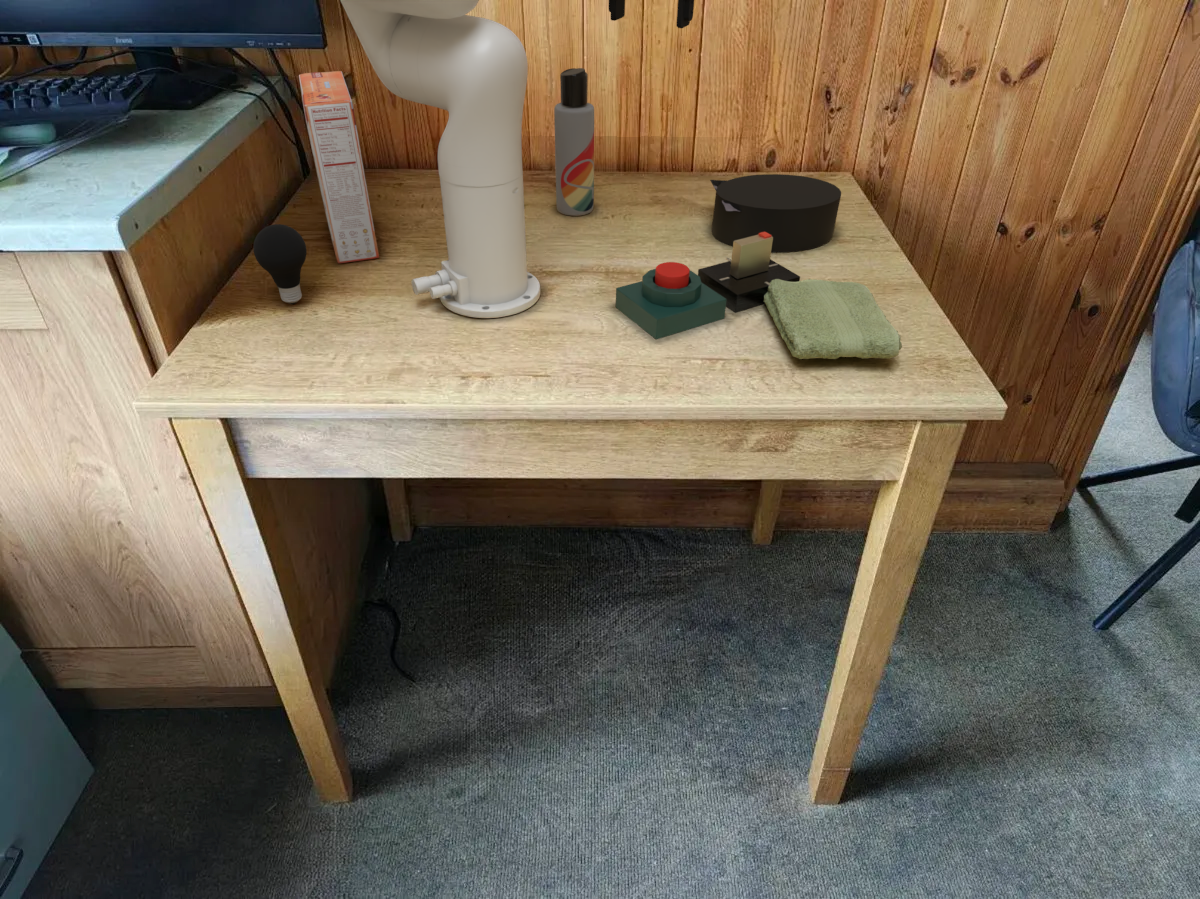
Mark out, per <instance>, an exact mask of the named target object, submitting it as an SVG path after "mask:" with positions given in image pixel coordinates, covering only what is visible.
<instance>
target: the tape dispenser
mask: <svg viewBox="0 0 1200 899" xmlns="http://www.w3.org/2000/svg"><path fill="white" fill-rule="evenodd" d="M709 181H710V183H711V184H712V186H713V188H714V190H715V197H714V205H713V214H712V222H711V231H710V232H711V235H712V237H713V238H714V239H715V240H716V241H718V242H720V243H722V244H724V245H726V246H728V247H732V248H733V242H734V241H735V240H739V239H743V238H747V237H751V236H755V235H758V234H759V233H761V232H767V233H768V234H770V235H772V237H773V242H772V249H771V253H793V252H802V251H808V250H812V249H817V248H819V247H822V246H824V245H826V244H828V243H829V242H831V241H832V239H833V237H834V232H835V228H836V227H835V226H836V221H837V216H838V213H839V209H840V208H839V207H840V202H841V197H842V191H841V189H840V188H839V187H838V186H837V185H835V184H833V183H831V182H830V181H829V182H828V181H825V180H822V179H818V178H814V177H809V176H804V175H794V174H782V173H781V174H779V173H778V174H777V173H774V174H773V173H772V174H770V173H769V174H768V173H767V174H766V173H765V174H752V175H744V176H739V177H734V178H731V179H728V180H724V179H723V180H722V179H709Z"/></svg>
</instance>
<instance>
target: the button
mask: <svg viewBox="0 0 1200 899" xmlns="http://www.w3.org/2000/svg"><path fill="white" fill-rule="evenodd" d="M655 269H656V271H655V284H656V285H658V286H660V287H664V288H668V289H680V288H683V287H687V286H688V283H689V270H690V267H688V266H687V265H685V264H684V263H681V262H676V261H667V262H662V263H659V264H657V265H656V267H655Z"/></svg>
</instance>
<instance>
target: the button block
mask: <svg viewBox="0 0 1200 899" xmlns="http://www.w3.org/2000/svg"><path fill="white" fill-rule="evenodd" d="M655 271H656V268H652V269H650V270H648V271H647V272H646V273H645V274H644V275H642V278H641V279H642V280H641V281H637V282H633V283H630V284H626V285H622V286H618V287H615V308H616V309H617V310H618V311H620V312H621V313H622V314H623V315H625V316H626V317H627V318H628V319H629V320H631V321H632V322H633V323H635V324H636V325H637V326H638V327H640V328H641V329H642V330H643V331H645V332H646V333H647V334H648V335H650V336H651V338H654V339H655V340H660V339H662V338H666V337H669V336H672V335H676V334H679V333H682V332H686V331H688V330H692V329H696V328H698V327H702V326H706V325H709V324H712V323H715V322H718V321H722V320H725V317H726V308H727V307H726V298H724V297H723V296H721V295H720V294H718V293H717V292H715V291H714V290H712V289H711V288H709V287H708V286H706V285H705V284H703V283H702V282H701V279H700V276H698V273H697V274H696V273H695V272H694V271H692V270H691V269H689V283H688V286H687V287H683V288H680V289H668V288H664V287H660V286H658V285H656V284H655Z"/></svg>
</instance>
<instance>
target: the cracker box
mask: <svg viewBox="0 0 1200 899" xmlns="http://www.w3.org/2000/svg"><path fill="white" fill-rule="evenodd" d="M298 80H299V85H300V93H301V100H302V101H301V102H302V106H303V112H304V118H305V124H306V129H307V134H308V137H309V143H310V147H311V152H312V157H313V162H314V168H315V172H316V175H317V181H318V185H319V190H320V194H321V198H322V202H323V207H324V212H325V217H326V222H327V225H328V230H329V234H330V238H331V243H332V247H333V251H334V254H335V258H336V261H337V264H347V263H353V262H360V261H367V260H375V259H379V258H380V254H379V247H378V242H377V237H376V236H377V235H376V232H375V225H374V220H373V214H372V208H371V204H370V197H369V191H368V186H367V180H366V173H365V168H364V164H363V156H362V150H361V146H360V138H359V133H358V127H357V120H356V115H355V109H354V104H353V99H352V98H351V95H350V92H349V88H348V86H347V83H346V79H345V77H344V73H343V71H342V70H334V71H322V72H321V71H320V72H319V71H314V72H313V71H312V72H304V73H301V74H299V75H298Z"/></svg>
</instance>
